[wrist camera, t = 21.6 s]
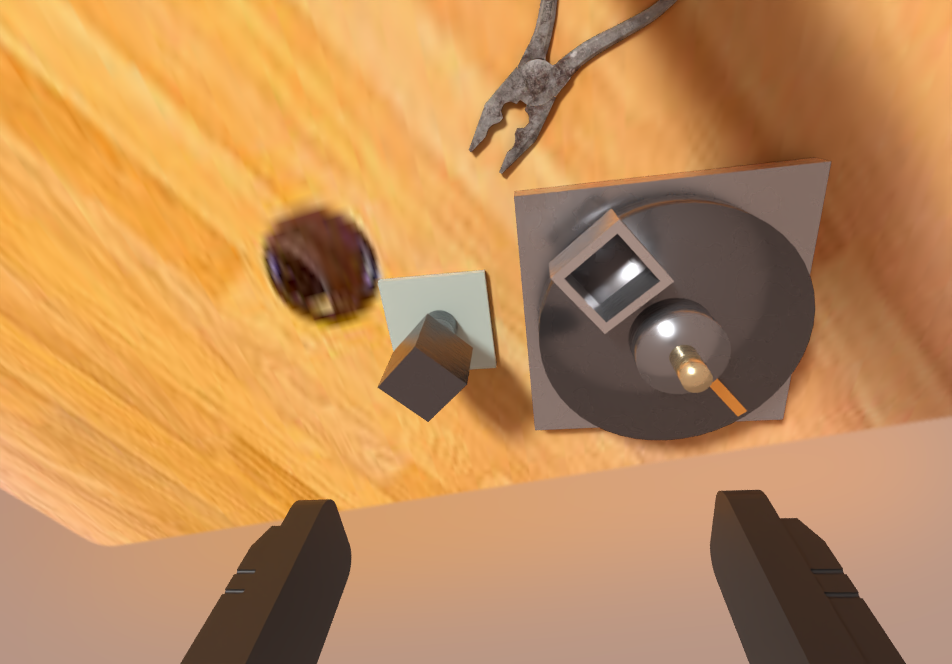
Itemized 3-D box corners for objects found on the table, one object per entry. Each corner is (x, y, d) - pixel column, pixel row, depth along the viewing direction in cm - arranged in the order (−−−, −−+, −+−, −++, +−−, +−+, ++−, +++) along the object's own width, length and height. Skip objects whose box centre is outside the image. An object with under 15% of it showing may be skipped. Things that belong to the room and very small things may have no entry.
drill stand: (514, 191, 36) (514, 196, 35) (815, 157, 34) (831, 161, 32) (534, 416, 46) (535, 430, 44) (772, 405, 43) (783, 419, 41)
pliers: (750, -118, 27) (583, 209, 36) (744, -112, 28) (582, 207, 37) (596, -199, 26) (463, 156, 35) (594, -191, 27) (465, 155, 36)
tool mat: (379, 279, 41) (377, 281, 40) (484, 269, 39) (484, 272, 39) (400, 370, 45) (398, 373, 44) (496, 364, 43) (496, 367, 43)
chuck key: (404, 327, 42) (377, 387, 34) (435, 292, 40) (414, 346, 32) (444, 357, 43) (428, 421, 35) (476, 324, 41) (466, 384, 33)
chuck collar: (482, 307, 38) (471, 364, 30) (687, 124, 31) (743, 136, 23) (636, 453, 44) (661, 534, 36) (843, 324, 36) (933, 390, 28)
